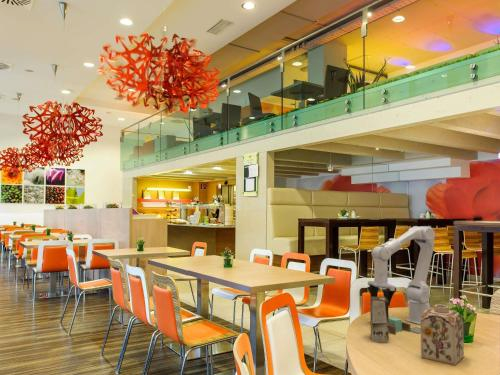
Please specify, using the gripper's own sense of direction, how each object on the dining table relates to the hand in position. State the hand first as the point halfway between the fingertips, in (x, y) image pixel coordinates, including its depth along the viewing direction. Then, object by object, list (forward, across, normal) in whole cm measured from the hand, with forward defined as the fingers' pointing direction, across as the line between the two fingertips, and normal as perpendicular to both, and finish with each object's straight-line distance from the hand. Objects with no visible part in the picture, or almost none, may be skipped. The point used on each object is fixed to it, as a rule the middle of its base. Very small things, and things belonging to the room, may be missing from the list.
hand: (380, 304), depth 191 cm
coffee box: (+10, +14, -14) cm, 22 cm away
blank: (+10, +8, 0) cm, 12 cm away
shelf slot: (+10, +8, 0) cm, 12 cm away
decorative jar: (+10, +40, -10) cm, 42 cm away
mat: (+9, +12, +9) cm, 18 cm away
